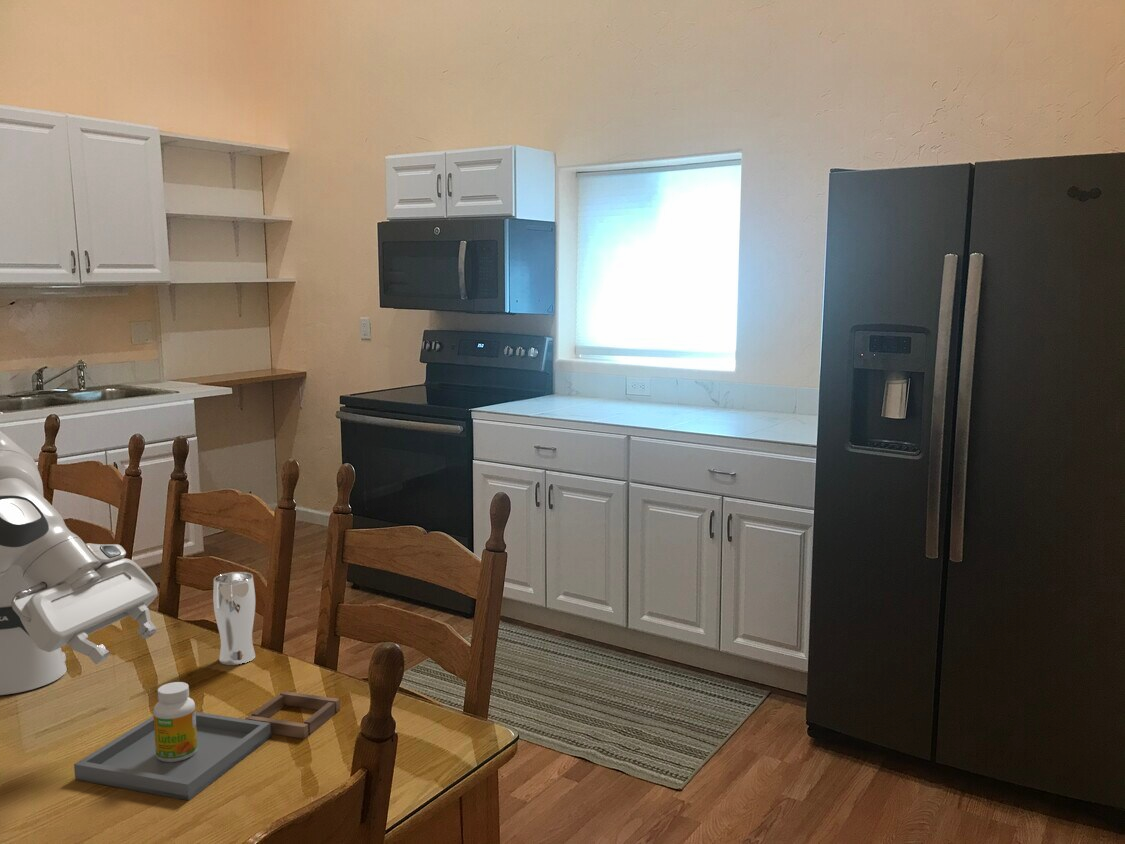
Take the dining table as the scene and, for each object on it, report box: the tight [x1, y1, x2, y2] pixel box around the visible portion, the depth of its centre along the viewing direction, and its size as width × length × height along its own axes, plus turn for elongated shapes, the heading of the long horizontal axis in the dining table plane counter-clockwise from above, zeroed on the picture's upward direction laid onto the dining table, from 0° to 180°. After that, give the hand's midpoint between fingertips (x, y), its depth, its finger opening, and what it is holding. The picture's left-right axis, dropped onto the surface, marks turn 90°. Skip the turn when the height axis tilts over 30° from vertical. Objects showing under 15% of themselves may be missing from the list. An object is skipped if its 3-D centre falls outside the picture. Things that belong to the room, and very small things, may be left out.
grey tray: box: [73, 711, 272, 801], centre depth 131 cm, size 18×18×2 cm
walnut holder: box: [244, 690, 341, 740], centre depth 143 cm, size 10×10×2 cm
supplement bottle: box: [152, 681, 197, 762], centre depth 130 cm, size 5×5×10 cm
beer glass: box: [212, 571, 256, 666], centre depth 165 cm, size 7×7×15 cm
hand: (128, 646), depth 132 cm, fingers open, 8 cm apart
